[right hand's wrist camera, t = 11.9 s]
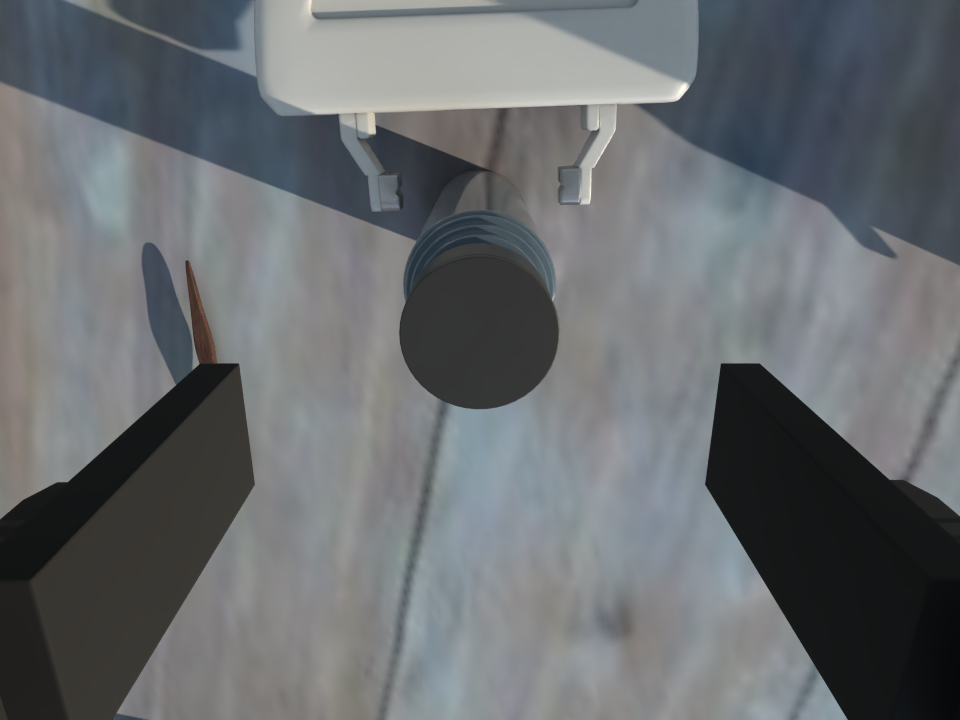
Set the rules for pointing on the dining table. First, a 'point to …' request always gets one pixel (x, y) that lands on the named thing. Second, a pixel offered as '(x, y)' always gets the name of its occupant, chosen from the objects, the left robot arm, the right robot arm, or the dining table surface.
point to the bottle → (479, 225)
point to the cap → (479, 327)
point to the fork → (200, 323)
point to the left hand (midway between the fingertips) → (480, 206)
